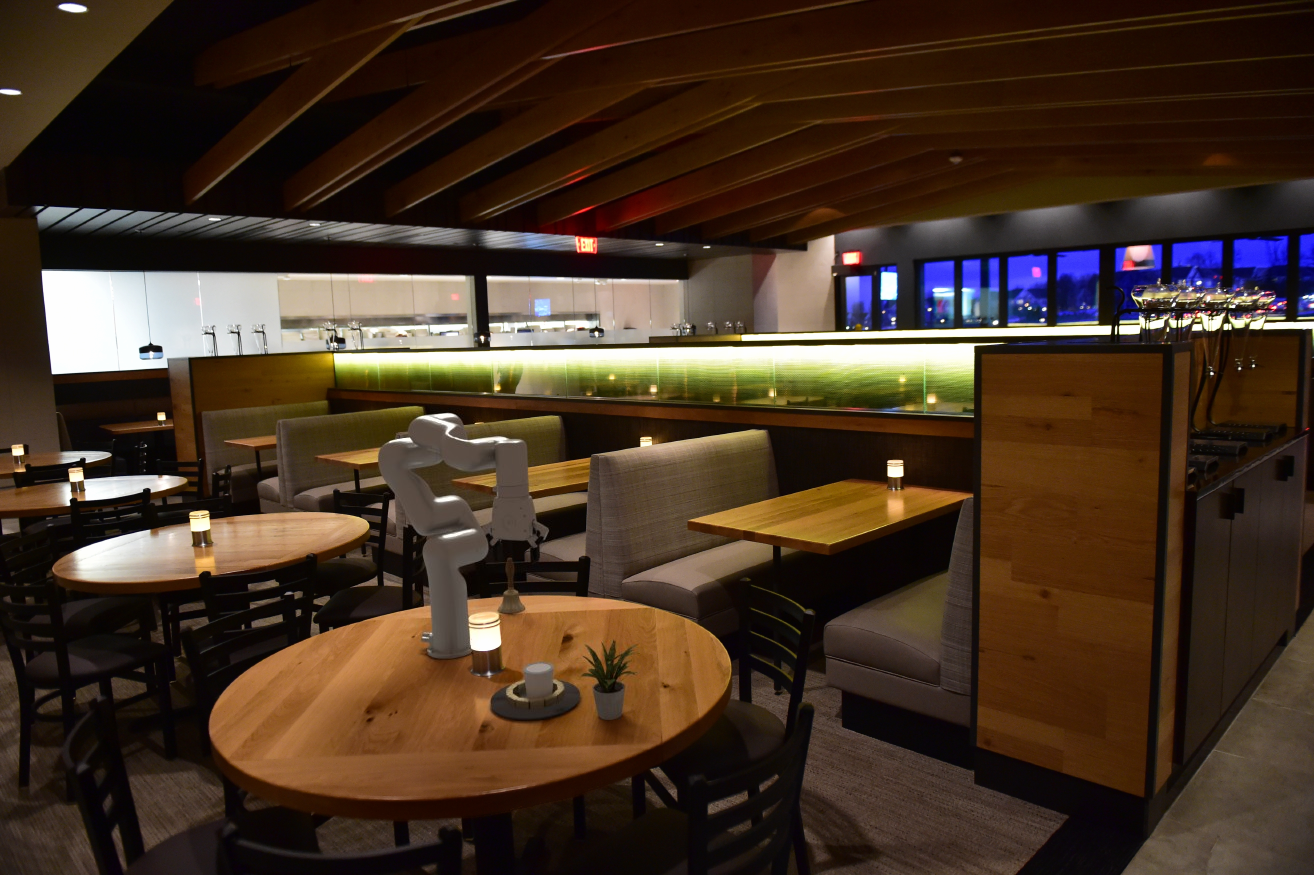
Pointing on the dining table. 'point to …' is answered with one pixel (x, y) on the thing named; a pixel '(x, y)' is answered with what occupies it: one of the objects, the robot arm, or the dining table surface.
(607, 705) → the house plant
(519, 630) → the dining table surface
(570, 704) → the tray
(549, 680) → the gray tapered cylinder
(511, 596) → the hand bell
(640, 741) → the dining table surface
